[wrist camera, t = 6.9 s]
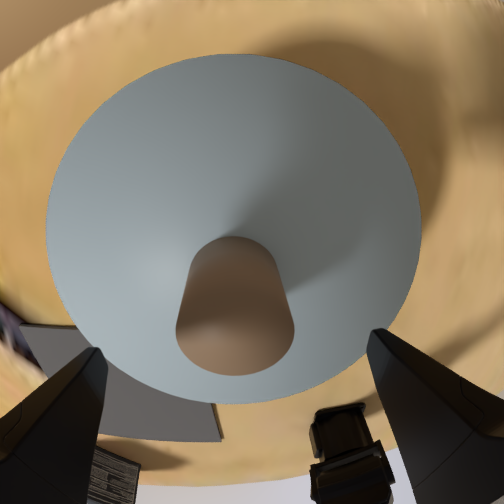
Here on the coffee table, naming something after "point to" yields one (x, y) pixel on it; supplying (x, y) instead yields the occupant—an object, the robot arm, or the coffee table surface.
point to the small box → (112, 479)
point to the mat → (126, 394)
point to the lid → (233, 228)
